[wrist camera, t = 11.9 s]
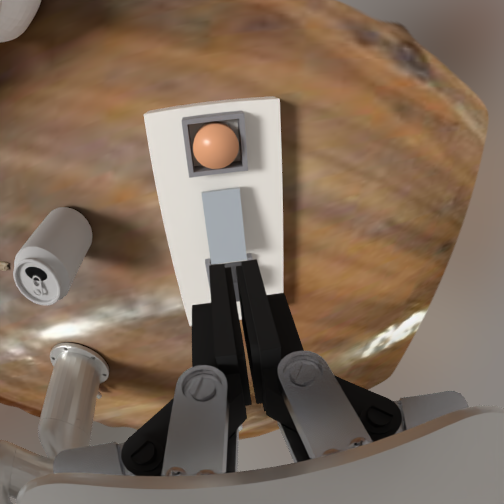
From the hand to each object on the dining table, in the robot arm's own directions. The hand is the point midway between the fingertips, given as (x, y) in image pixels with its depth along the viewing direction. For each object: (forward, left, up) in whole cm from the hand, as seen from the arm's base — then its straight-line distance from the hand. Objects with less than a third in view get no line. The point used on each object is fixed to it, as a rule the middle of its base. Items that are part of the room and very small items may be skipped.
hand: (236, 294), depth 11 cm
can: (-9, +21, -27) cm, 35 cm away
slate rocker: (-9, 0, -22) cm, 23 cm away
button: (0, 0, -23) cm, 23 cm away
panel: (-11, 0, -27) cm, 29 cm away
